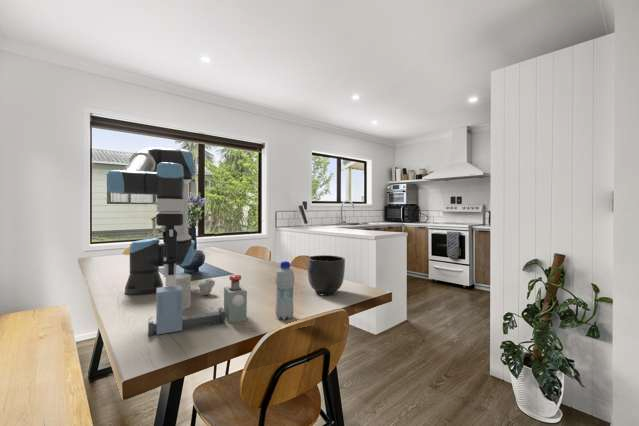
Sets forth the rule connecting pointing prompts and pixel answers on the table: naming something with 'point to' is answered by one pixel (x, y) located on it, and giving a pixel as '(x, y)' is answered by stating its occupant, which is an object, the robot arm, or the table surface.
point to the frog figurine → (206, 286)
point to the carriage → (169, 309)
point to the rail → (193, 321)
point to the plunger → (235, 282)
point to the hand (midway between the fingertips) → (169, 281)
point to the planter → (326, 273)
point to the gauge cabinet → (235, 304)
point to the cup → (184, 288)
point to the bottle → (284, 291)
